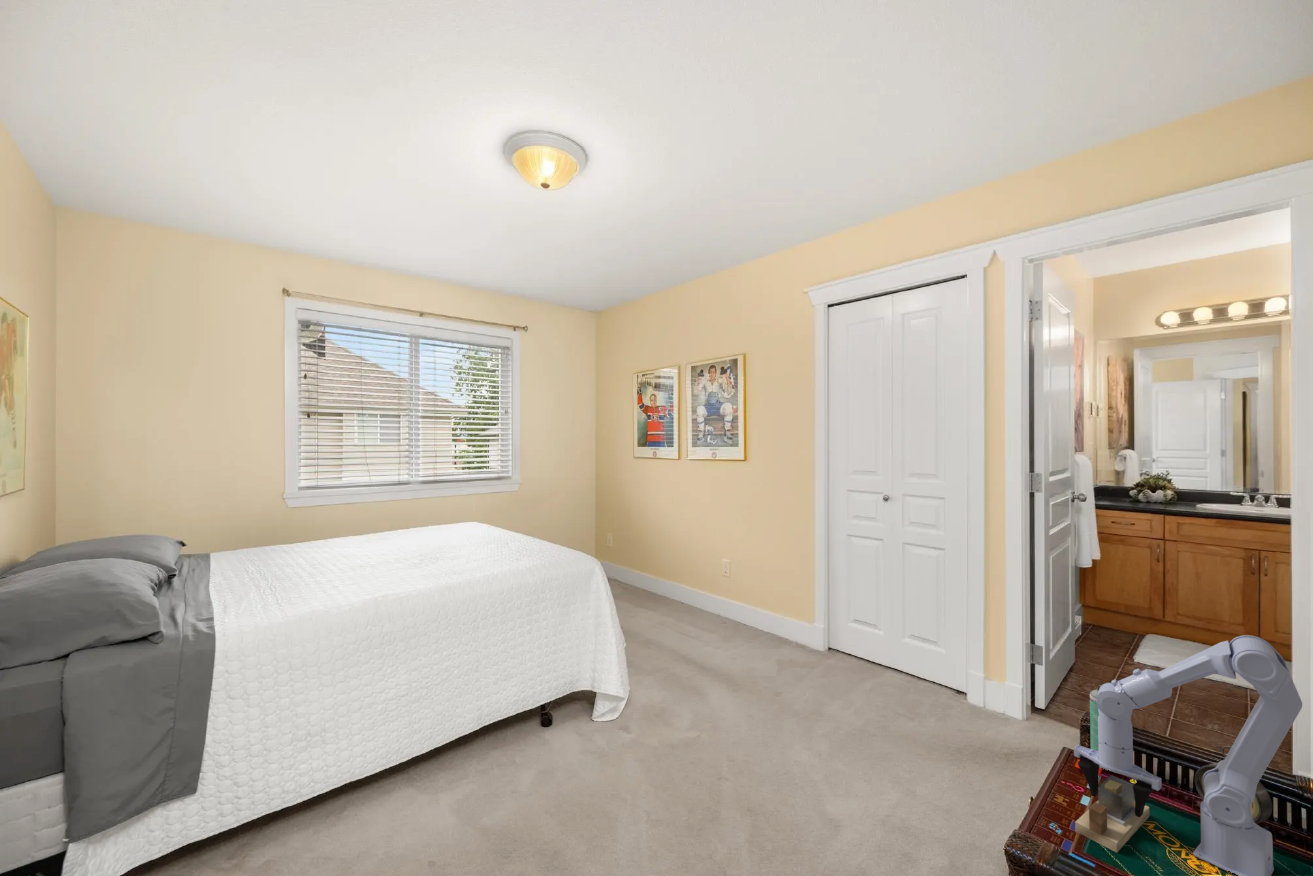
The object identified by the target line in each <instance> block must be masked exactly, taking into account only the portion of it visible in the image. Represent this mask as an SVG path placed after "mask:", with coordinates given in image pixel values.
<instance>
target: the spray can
mask: <svg viewBox="0 0 1313 876" xmlns="http://www.w3.org/2000/svg"><path fill="white" fill-rule="evenodd" d="M1103 684H1104V683H1103ZM1103 684H1099V685H1098V687H1097V688H1096V689H1093V690H1090V692H1089V723H1090V724H1089V725H1090V726H1089V727H1090V728H1089V729H1090V730H1089V732H1090V735H1089V736H1090V737H1089V738H1090V749H1093V750H1096V751H1099V749H1098V716H1099V713H1098V709H1099V708H1098V706H1097V702H1096V698H1097V695H1098V691H1099V688H1100V687H1101V686H1102V685H1103ZM1101 768H1103V769H1102V770H1104V769H1105V768H1104V767H1102V766H1100V765H1099V769H1101ZM1105 771H1108V770H1107V769H1105ZM1108 772H1111V771H1110V770H1109V771H1108Z"/></svg>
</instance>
